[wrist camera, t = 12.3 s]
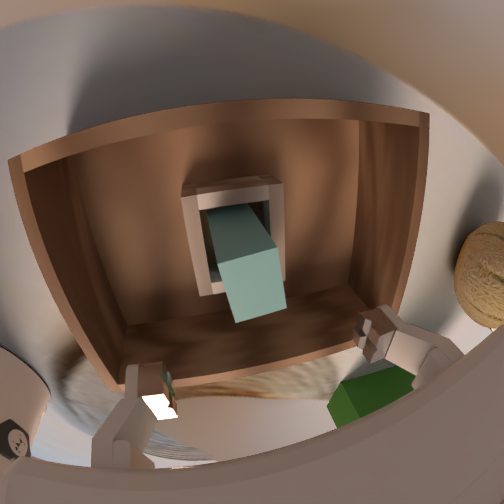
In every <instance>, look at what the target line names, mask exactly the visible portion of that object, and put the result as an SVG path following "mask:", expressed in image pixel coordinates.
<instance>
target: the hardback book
mask: <svg viewBox="0 0 504 504" xmlns="http://www.w3.org/2000/svg"><path fill="white" fill-rule="evenodd" d="M415 377H416V375H414V374H412V373H410V372H408V371H406V370H405V369H403V368H401V367H399V366H395V367H392V368H389V369H385V370H382V371H379V372H376V373H372V374H369V375H366V376H362V377H358V378H355V379H351V380H347V381H343V382H340V384H339V386H338V388H337V389H336V391H335V393H334V395H333V396H332V398H331V400H330V401H329V403H328V405H327V408H328V410H329V412H330V414H331V416H332V418H333V420H334V422H335V425H336V427H337V428H339V427H341V426H344V425H346V424H349V423H351V422H353V421H355V420H358V419H360V418H362V417H364V416H366V415H368V414H370V413H372V412H375V411H377V410H379V409H380V408H382V407H384V406H386V405H388V404H390V403H392V402H394V401H396V400H397V399H399V398H401V397H403V396H405V395H406V394H408V393H410V392H411V391H413V390H414V389H413V387H412V386H411V385H412V382H413V380H414V379H415Z"/></svg>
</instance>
